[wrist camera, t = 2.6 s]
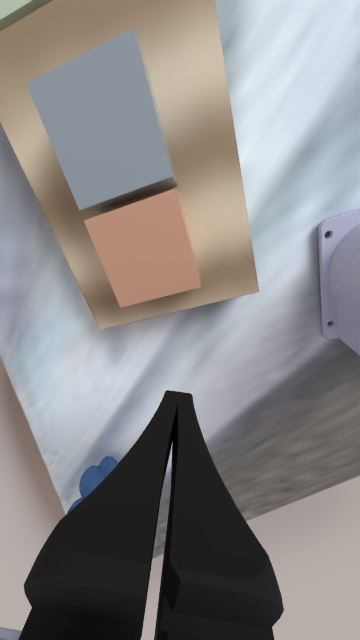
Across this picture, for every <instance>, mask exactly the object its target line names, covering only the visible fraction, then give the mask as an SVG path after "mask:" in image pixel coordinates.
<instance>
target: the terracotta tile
mask: <svg viewBox="0 0 360 640" xmlns="http://www.w3.org/2000/svg"><path fill="white" fill-rule="evenodd" d="M84 222H85V225H86V227H87V230H88V232H89V234H90V237H91V239H92V241H93V244H94V246H95V248H96V251H97V253H98V256H99V258H100V260H101V263H102V265H103V267H104V270H105V272H106V275H107V277H108V279H109V282H110V284H111V286H112V289H113V291H114V293H115V296H116V298H117V301H118V303H119V305H120V308H121V307H125V306H129V305H133V304H137V303H141V302H145V301H149V300H153V299H157V298H161V297H164V296H168V295H172V294H176V293H180V292H184V291H188V290H192V289H196V288H200V287H201V275H200V271H199V267H198V263H197V259H196V255H195V251H194V247H193V243H192V239H191V235H190V232H189V228H188V224H187V220H186V216H185V212H184V208H183V204H182V200H181V196H180V193H179V192H178V191H177V190H176V188H175V189H172V190H169V191H166V192H163V193H161V194H158V195H155V196H152V197H149V198H146V199H144V200H141V201H138V202H135V203H132V204H129V205H127V206H124V207H121V208H118V209H115V210H112V211H110V212H107V213H104V214H101V215H98V216H95V217H93V218H90V219H87V220H84Z"/></svg>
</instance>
